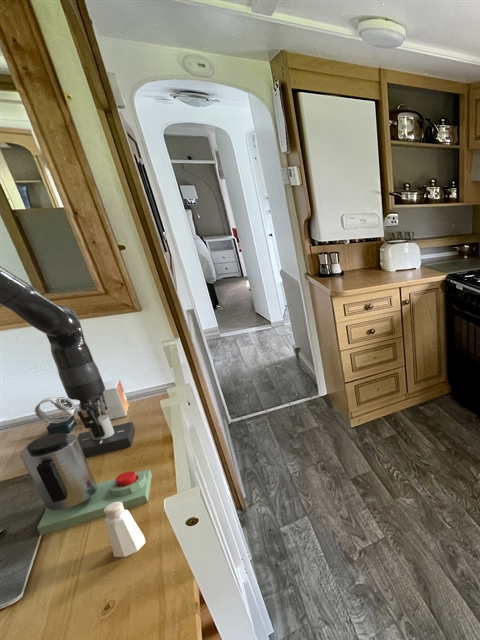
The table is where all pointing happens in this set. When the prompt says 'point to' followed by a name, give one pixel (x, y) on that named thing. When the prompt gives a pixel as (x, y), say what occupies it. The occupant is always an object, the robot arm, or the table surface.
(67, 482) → the kettle
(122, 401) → the small box
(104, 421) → the temp dial
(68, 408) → the watch
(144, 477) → the kettle base
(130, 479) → the kettle switch
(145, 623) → the table surface
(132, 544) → the salt shaker
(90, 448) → the dial panel
